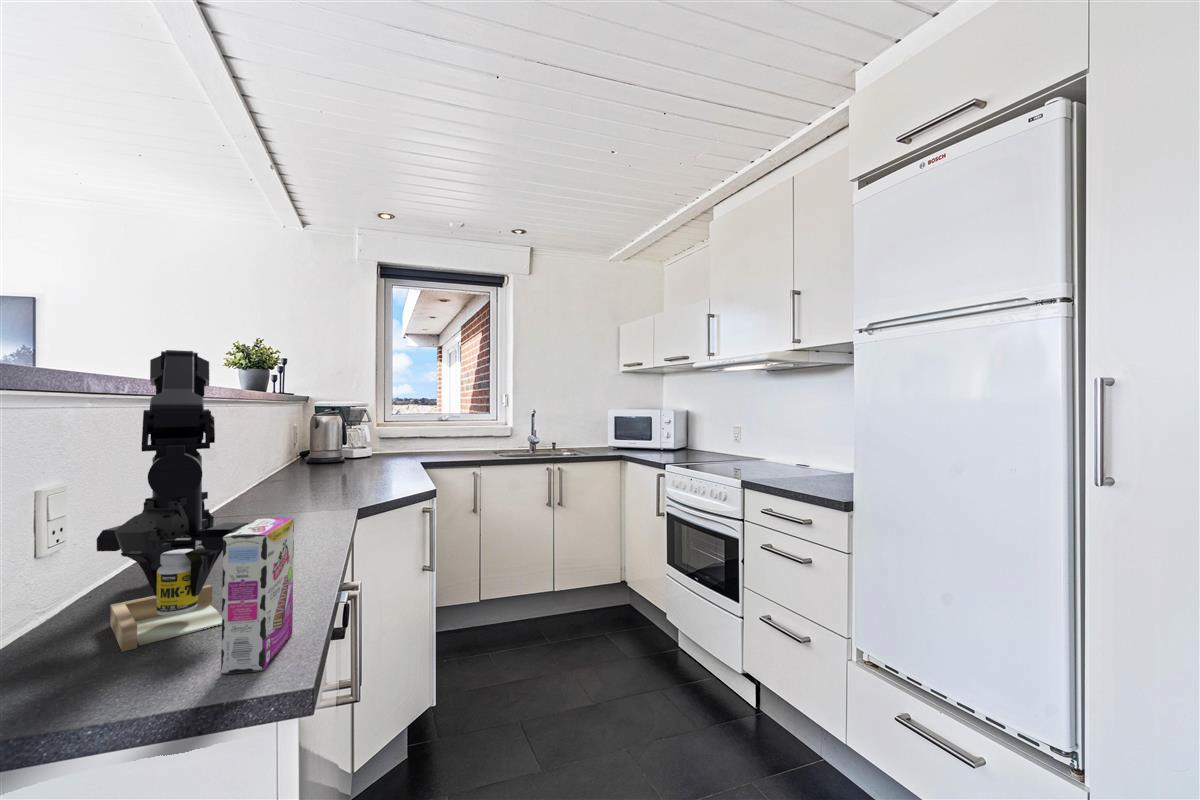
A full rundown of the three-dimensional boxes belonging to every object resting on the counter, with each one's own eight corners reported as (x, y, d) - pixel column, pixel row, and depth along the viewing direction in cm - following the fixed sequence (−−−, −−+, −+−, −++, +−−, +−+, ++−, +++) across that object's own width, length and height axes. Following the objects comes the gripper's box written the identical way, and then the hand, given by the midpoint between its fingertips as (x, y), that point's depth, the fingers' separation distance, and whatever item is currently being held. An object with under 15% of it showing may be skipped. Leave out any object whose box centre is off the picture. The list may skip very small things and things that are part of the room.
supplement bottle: (154, 619, 77) (154, 558, 77) (158, 608, 81) (158, 550, 81) (197, 611, 80) (197, 553, 80) (198, 601, 84) (198, 546, 84)
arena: (110, 625, 80) (110, 604, 80) (209, 603, 89) (209, 584, 89) (122, 651, 72) (122, 628, 72) (230, 624, 80) (230, 603, 80)
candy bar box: (266, 671, 66) (266, 534, 66) (219, 676, 65) (219, 536, 65) (295, 633, 77) (295, 515, 77) (255, 637, 76) (255, 517, 76)
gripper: (59, 498, 72) (59, 618, 72) (205, 497, 73) (205, 616, 73) (129, 485, 84) (129, 589, 84) (255, 484, 84) (255, 587, 84)
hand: (177, 595), depth 81 cm, fingers closed on supplement bottle, 5 cm apart
